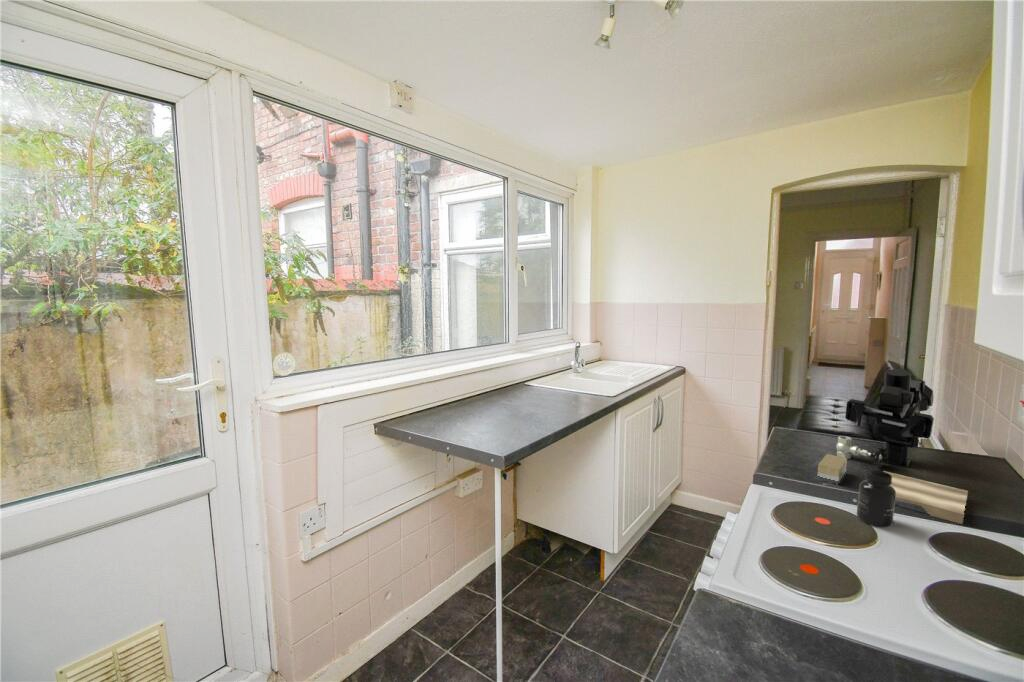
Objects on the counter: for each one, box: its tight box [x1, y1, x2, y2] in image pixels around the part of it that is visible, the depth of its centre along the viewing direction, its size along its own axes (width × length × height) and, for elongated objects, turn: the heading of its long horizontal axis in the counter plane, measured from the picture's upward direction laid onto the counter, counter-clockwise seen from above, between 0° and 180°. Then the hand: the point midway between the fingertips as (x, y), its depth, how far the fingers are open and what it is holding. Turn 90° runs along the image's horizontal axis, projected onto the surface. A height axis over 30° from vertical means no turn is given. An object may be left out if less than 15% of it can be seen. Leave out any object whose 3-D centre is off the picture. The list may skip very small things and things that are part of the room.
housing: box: [816, 453, 848, 481], centre depth 130 cm, size 10×5×5 cm, turn 133°
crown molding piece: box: [882, 470, 969, 525], centre depth 116 cm, size 16×17×2 cm
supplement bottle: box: [856, 469, 896, 528], centre depth 106 cm, size 7×7×12 cm
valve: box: [835, 435, 886, 469], centre depth 139 cm, size 7×7×12 cm
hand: (879, 429), depth 120 cm, fingers open, 9 cm apart
